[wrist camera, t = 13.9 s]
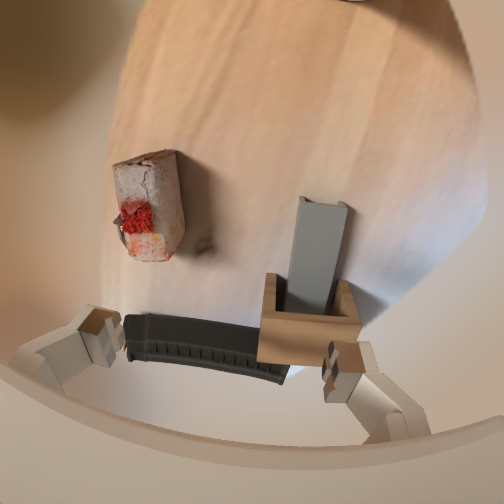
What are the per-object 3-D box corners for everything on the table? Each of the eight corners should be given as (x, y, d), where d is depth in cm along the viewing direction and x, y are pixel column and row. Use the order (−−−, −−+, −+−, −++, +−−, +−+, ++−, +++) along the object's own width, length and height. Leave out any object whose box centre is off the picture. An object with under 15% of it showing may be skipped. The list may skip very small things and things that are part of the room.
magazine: (318, 371, 39) (110, 383, 32) (313, 384, 40) (116, 396, 34) (285, 304, 54) (125, 308, 47) (282, 317, 55) (128, 322, 48)
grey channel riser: (299, 195, 37) (301, 202, 34) (343, 201, 36) (347, 208, 34) (281, 316, 46) (281, 327, 43) (316, 319, 45) (318, 331, 43)
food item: (194, 240, 41) (171, 274, 32) (146, 241, 42) (116, 273, 33) (181, 146, 35) (150, 156, 26) (130, 154, 36) (91, 168, 27)
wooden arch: (266, 272, 42) (262, 317, 33) (347, 280, 42) (362, 325, 32) (261, 314, 46) (256, 361, 36) (335, 320, 45) (344, 367, 36)
